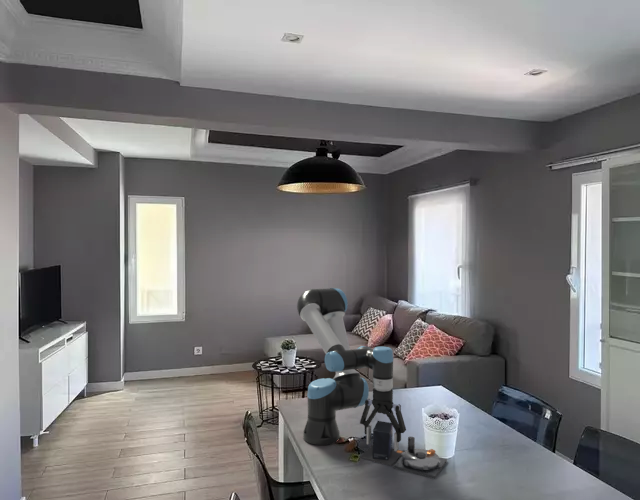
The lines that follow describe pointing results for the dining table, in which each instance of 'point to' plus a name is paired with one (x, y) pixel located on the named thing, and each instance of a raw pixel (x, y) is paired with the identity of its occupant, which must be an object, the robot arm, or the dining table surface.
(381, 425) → the small box
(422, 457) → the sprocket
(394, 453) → the pad
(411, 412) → the dining table surface
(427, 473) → the sprocket base
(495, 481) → the dining table surface
